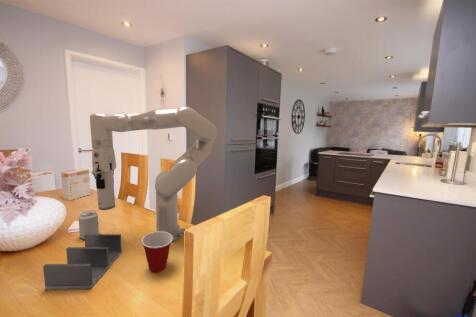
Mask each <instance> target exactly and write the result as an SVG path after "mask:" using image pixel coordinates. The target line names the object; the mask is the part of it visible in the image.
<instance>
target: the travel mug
mask: <svg viewBox="0 0 476 317" xmlns="http://www.w3.org/2000/svg"><path fill="white" fill-rule="evenodd" d="M109 164H110V171H108V172H104V177H103V179H105V188H104V189H97V188H96V194H97V204H98V205H97V207H98V210H99V211H108V210H113V209H115V207H116V199H115V181H113V177H114V175H113V171H112V170H113V169H112V163H109ZM98 171H101V170H98ZM98 174H100V175H101V173H98Z"/></svg>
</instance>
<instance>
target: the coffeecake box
mask: <svg viewBox="0 0 476 317" xmlns="http://www.w3.org/2000/svg"><path fill="white" fill-rule="evenodd" d="M60 174H61V176H60V177H61V185H62V196H63V198H62V199H63V200H64V199H65V201H68V200H69V201H70V202H71V201H73V199H74V200H76V199H77V198H78V199H80V197H81V198H84V197H83V196H85V197H88V196H87V195H89V196H91V195H92V193H91V182H90V180H91V179H90V169H87V168H80V169H74V170H73V169H72V170H67V171H61V172H60ZM90 194H91V195H90Z"/></svg>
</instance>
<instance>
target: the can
mask: <svg viewBox="0 0 476 317" xmlns="http://www.w3.org/2000/svg"><path fill="white" fill-rule="evenodd" d="M77 219H78V230H79V238H80V239H82V240H84V235H85V234H100V228H99V226H100V225H99V213H98V212H97V211H96V210H94V209H88V210H83V211H82V212H80V213H79V215H78V218H77Z"/></svg>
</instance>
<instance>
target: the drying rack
mask: <svg viewBox="0 0 476 317" xmlns="http://www.w3.org/2000/svg"><path fill="white" fill-rule="evenodd" d="M83 241H84V247H83V246H75V247H73V246H71V247H70V246H67V247H66V249H65V250H66V262H67V263H46V264H44V265H43V266H42V270H43V279H44V287H45V290H91V289H92V288H93V287H94V286H95V285H96V284H97V282H98V281H99V280H100V279H101V278H102V276H104V275H105V273H106V272H107V271H108V270H109V268H110V267H111V266H112V265H113V263H114V262H116V260H117V259H118V258H119V256H121V254H122V253H123V248H122V234H121V233H116V234H115V233H99V234H85V235H84V239H83Z"/></svg>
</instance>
